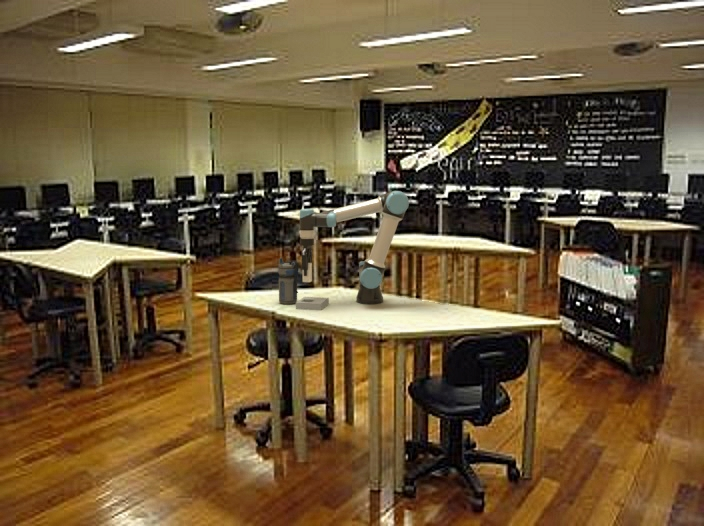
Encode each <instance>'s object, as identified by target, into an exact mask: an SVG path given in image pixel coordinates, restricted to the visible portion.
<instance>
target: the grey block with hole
mask: <svg viewBox="0 0 704 526" xmlns="http://www.w3.org/2000/svg"><path fill="white" fill-rule="evenodd" d="M329 301H330V298H329V297H320V296H319V297H315V296H303V297H302V298H300V299H299V300H297V302H296V303H295V310H307V309H309V311H321V310H323V309H324V308H326V307H327V306H328V305H329V304H330V303H329ZM325 306H326V307H325Z"/></svg>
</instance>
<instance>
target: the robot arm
mask: <svg viewBox="0 0 704 526" xmlns="http://www.w3.org/2000/svg"><path fill="white" fill-rule="evenodd" d="M409 204H410V202H409V198H408V195H407V194H406V193H405V192H402V191H401V190H393V191H390V192H387V193H384V194H382V195H378V197H377V198H374V199H370V200H365V201H362V202H358V203H353V204H350V205H345V206H341V207H338V208H333V209H329V210H324V211H322V212H315V210H314V209H312V208H302V209H300V210H299V231H298V234H299V238H300V239H299V245H300V246H301V247H302V249H301V251H300V254H301V270H302V283H310V282H309V277H308V263H312V264H313V248H312V246H314V245H315V239H314V237H315V228H334V227H336V226H337V223H340V222H343V221H349V220H352V219H356V218H357V219H358V218H360V217H364V216H368V215H372V214H377V213H382V216H383V217H382V220H381V222H380V225H379V228H378V232H377V234H376V236H375V239H374V242H373V245H372V248H371V251H370V253H369V254H370V255H369V257H368V258H367V259H365V260H364V261H362V260H361V261H360V262H359V263H358V264H359V265H358V268H359V269H358V270H359V271H358V272H359V273H358V274H359V283H358V287H359V289H358V291H357V295H356V298H355V299H356V300H355V301H356V303H359V304H362V305H364V304H365V305H375V304H376V305H377V304H381V303H383V302H384V296H383V293H382V290H381V283H382V282H383V276H384V273H385V270H386V265H385V261H386V258H387V255H388V253H389V250H390V247H391V244H392V242H393V239H394V235H395V233H396V230H397V227H398V225H399V222H401V221H402V220H403V219H404V216H405V214H406V211H407V209H409V206H410V205H409ZM312 269H313V266H312Z"/></svg>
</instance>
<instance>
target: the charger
mask: <svg viewBox="0 0 704 526" xmlns="http://www.w3.org/2000/svg"><path fill="white" fill-rule="evenodd" d="M312 267H313V262H312V263H308V277H309V282H308V283H311V282H313V268H312Z"/></svg>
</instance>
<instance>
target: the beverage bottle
mask: <svg viewBox="0 0 704 526" xmlns="http://www.w3.org/2000/svg"><path fill="white" fill-rule="evenodd" d="M299 268H300V263H299V262H298V261H297V260H287V261H283V258H282V257H281V258H279V259H278V269H277V270H278V271H277V272H278V275H279V276H278V301H279V303H280V304H282V305H293V303H294V304H296V302H297V301H298V294H299V292H298V278H299V277H298V276H299V271H300V269H299Z"/></svg>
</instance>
